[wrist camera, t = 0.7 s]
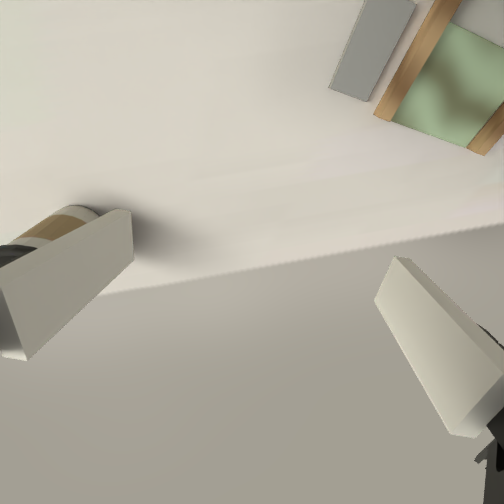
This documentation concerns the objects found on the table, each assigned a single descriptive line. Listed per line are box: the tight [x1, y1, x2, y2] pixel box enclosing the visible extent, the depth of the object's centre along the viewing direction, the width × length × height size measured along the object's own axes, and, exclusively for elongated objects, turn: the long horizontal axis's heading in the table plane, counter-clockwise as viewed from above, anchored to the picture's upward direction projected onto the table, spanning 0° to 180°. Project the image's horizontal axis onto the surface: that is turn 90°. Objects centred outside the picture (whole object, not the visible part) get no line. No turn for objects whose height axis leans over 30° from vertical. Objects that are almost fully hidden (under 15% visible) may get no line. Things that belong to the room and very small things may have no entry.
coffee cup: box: [0, 205, 100, 265], centre depth 37 cm, size 11×11×15 cm
